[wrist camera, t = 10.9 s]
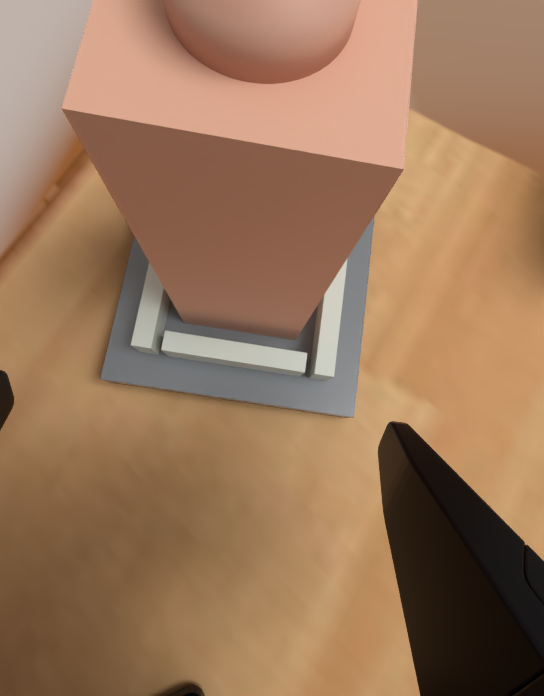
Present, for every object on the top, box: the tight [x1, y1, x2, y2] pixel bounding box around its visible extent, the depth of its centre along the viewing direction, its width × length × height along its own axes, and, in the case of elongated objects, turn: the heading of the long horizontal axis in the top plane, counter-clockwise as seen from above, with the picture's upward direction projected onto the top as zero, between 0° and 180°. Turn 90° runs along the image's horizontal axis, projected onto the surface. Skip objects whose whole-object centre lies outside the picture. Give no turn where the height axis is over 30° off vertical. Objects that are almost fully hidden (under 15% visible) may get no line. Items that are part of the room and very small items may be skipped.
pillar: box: [62, 0, 418, 340], centre depth 12 cm, size 5×5×13 cm
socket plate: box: [100, 217, 374, 418], centre depth 18 cm, size 11×11×3 cm
